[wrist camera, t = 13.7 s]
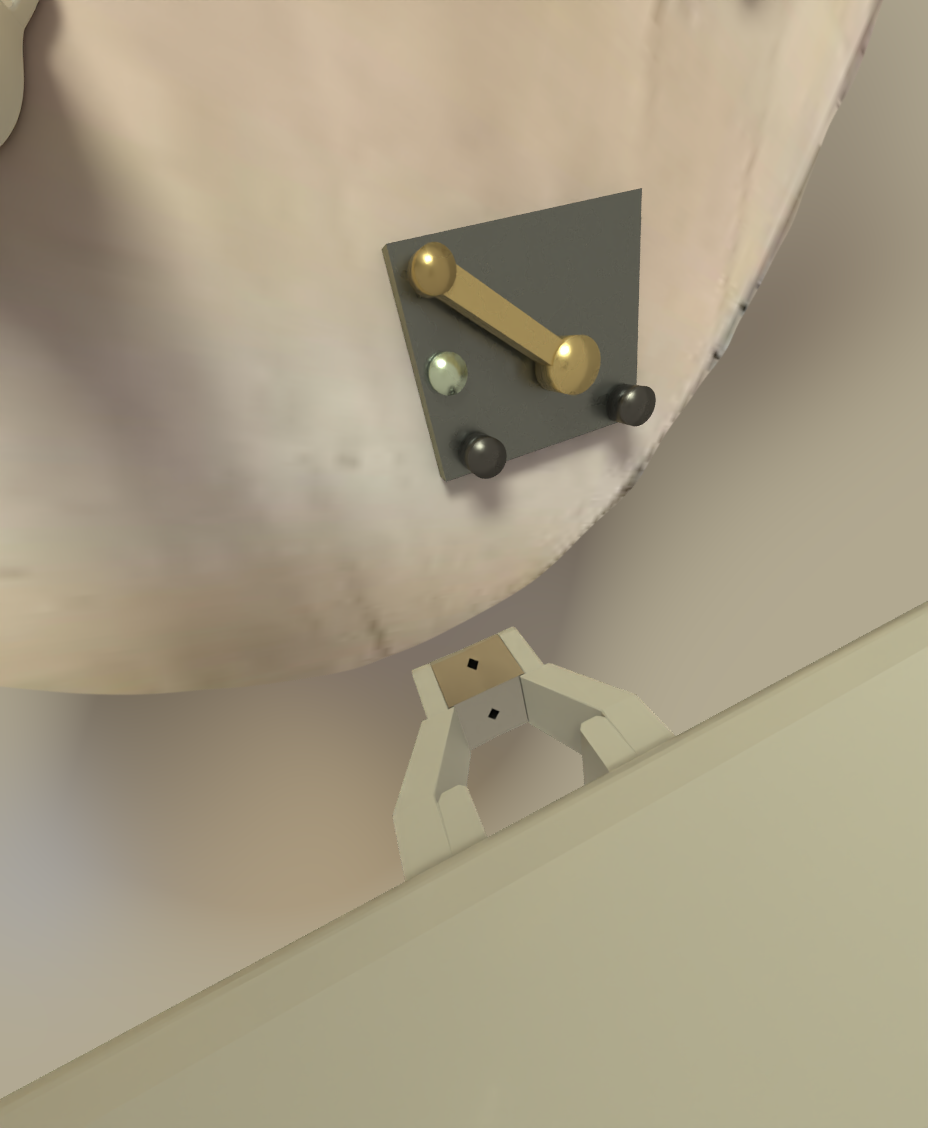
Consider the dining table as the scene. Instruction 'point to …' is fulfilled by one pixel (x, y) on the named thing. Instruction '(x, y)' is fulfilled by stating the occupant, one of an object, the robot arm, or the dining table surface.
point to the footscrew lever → (506, 321)
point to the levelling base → (549, 296)
